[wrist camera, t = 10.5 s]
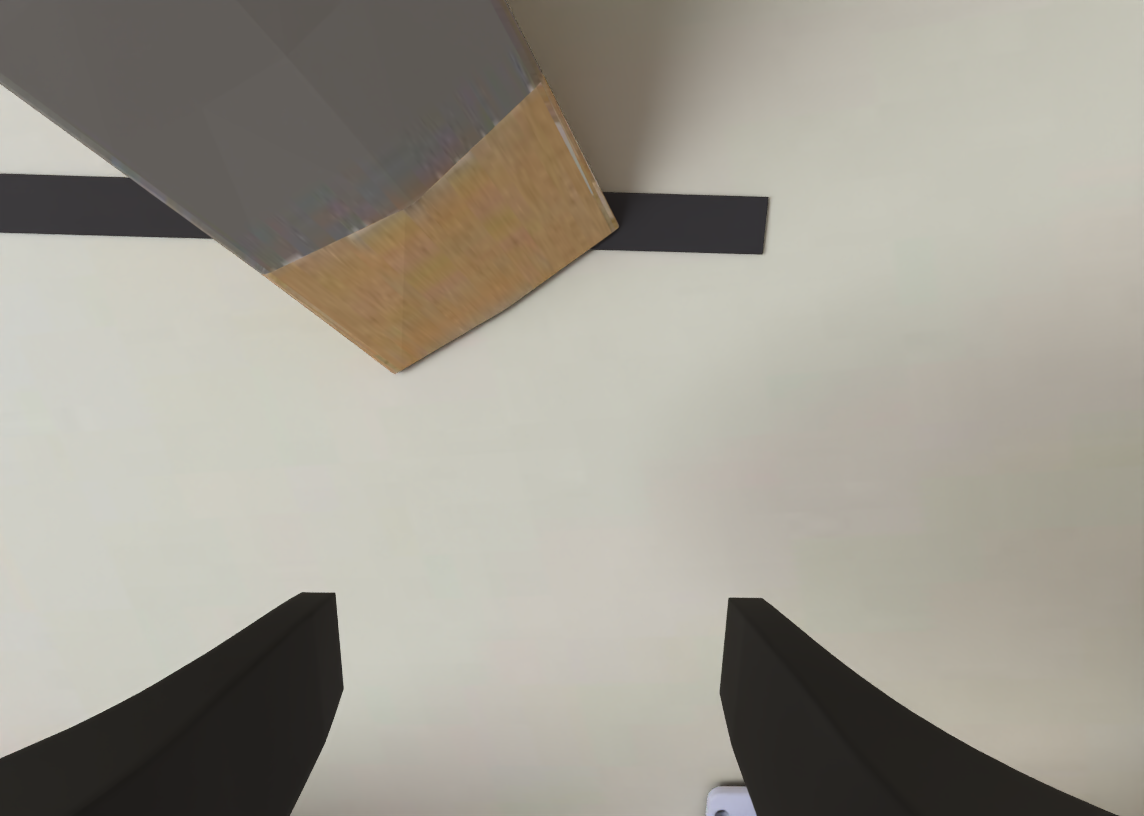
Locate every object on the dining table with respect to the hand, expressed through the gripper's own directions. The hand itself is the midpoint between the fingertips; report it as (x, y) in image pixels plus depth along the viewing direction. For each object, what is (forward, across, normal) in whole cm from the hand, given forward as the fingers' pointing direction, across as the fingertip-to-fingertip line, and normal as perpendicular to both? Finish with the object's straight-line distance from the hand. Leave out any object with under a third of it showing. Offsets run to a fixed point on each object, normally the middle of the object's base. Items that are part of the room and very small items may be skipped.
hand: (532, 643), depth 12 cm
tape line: (+9, +6, -8) cm, 13 cm away
